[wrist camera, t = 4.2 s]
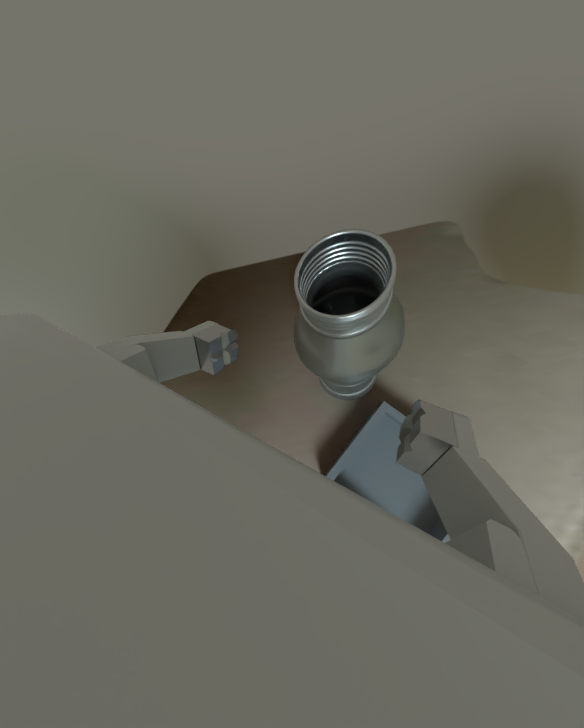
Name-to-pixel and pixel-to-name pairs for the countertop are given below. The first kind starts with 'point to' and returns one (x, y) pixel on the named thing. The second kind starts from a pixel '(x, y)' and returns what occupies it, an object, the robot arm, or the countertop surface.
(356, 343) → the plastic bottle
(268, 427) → the countertop surface
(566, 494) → the countertop surface
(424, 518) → the holder
